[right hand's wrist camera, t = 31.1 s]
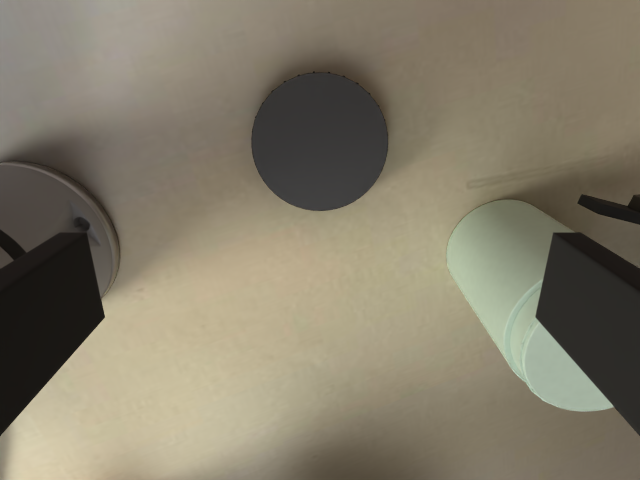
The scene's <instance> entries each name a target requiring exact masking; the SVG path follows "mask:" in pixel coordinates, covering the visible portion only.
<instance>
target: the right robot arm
mask: <svg viewBox="0 0 640 480" xmlns="http://www.w3.org/2000/svg"><path fill="white" fill-rule="evenodd" d="M118 267H119V245H118V240H117V236H116V233H115V230H114V227H113V225H112V223H111V221H110V219H109V217H108V215H107V214H106V212H105V211H104V209H103V208H102V206H101V205H100V204H99V203H98V201H97V200H96V199H95V198H94V197H93V196H92V195H91V194H90V193H89V192H88V191H87V190H86V189H85V188H84V187H82V186H81V185H80V184H78V183H77V182H76V181H74V180H73V179H71V178H69V177H68V176H66V175H64V174H62V173H60V172H58V171H56V170H54V169H51V168H49V167H46V166H42V165H39V164H34V163H29V162H17V161H11V162H2V163H0V436H1V434H2V433H3V432H4V431H5V430H6V429H7V428H8V427H9V425H10V424H11V423H12V422H13V421H14V420H15V419H16V417H17V416H18V415H19V414H20V413H21V412H22V411H23V410H24V408H25V407H26V406H27V405H28V404H29V403H30V402H31V400H32V399H33V398H34V397H35V396H36V395H37V394H38V393H39V391H40V390H41V389H42V388H43V387H44V386H45V385H46V383H47V382H48V381H49V380H50V379H51V378H52V377H53V375H54V374H55V373H56V372H57V371H58V370H59V369H60V368H61V366H62V365H63V364H64V363H65V362H66V361H67V360H68V358H69V357H70V356H71V355H72V354H73V353H74V352H75V351H76V349H77V348H78V347H79V346H80V345H81V344H82V343H83V341H84V340H85V339H86V338H87V337H88V336H89V335H90V334H91V332H92V331H93V330H94V329H95V328H96V327H97V326H98V324H99V323H100V322H101V321H102V320H103V319H104V318H105V315H104V311H103V306H102V301H101V298H102V297H103V296H104V295H105V294H106V293H107V291H108V290H109V289H110V287H111V286H112V284H113V282H114V280H115V278H116V275H117V271H118ZM535 318H536V319H537V320H538V321H539V322H540V323H541V324H542V326H543V327H544V328H545V329H546V330H547V331H548V332H549V334H550V335H551V336H552V337H553V338H554V339H555V340H556V341H557V343H558V344H559V345H560V346H561V347H562V348H563V349H564V351H565V352H566V353H567V354H568V355H569V356H570V357H571V358H572V360H573V361H574V362H575V363H576V364H577V365H578V366H579V368H580V369H581V370H582V371H583V372H584V373H585V374H586V375H587V377H588V378H589V379H590V380H591V381H592V382H593V383H594V385H595V386H596V387H597V388H598V389H599V390H600V391H601V393H602V394H603V395H604V396H605V397H606V398H607V399H608V400H609V402H610V403H611V404H612V405H613V406H614V407H615V408H616V410H617V411H618V412H619V413H620V414H621V415H622V416H623V417H624V419H625V420H626V421H627V422H628V423H629V424H630V425H631V427H632V428H633V429H634V430H635V431H636V432H637V433H638V434H639V436H640V269H639V268H638V267H636V266H634V265H633V264H631V263H629V262H628V261H626V260H624V259H623V258H621V257H620V256H618V255H616V254H615V253H613V252H611V251H610V250H608V249H607V248H605V247H603V246H602V245H600V244H598V243H597V242H595V241H593V240H592V239H590V238H589V237H587V236H585V235H584V234H582V233H580V232H553V235H552V240H551V245H550V249H549V254H548V259H547V264H546V268H545V273H544V278H543V282H542V287H541V292H540V297H539V301H538V306H537V311H536V315H535Z"/></svg>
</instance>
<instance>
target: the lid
mask: <svg viewBox="0 0 640 480" xmlns="http://www.w3.org/2000/svg"><path fill="white" fill-rule="evenodd" d="M255 118H256V119H255V122H254V126H253V130H252V152H253V158H254V161H255V165H256V167H257V170H258V172H259V174H260V176H261V177H262V179H263V181H264V182H265V183H266V185H267V186H268V187H269V188H270V189H271V190H272V191H273V192H274V193H275V194H276V195H277V196H278V197H280V198H281V199H282V200H284V201H286V202H287V203H289V204H291V205H294V206H296V207H299V208H302V209H307V210H313V211H325V210H333V209H337V208H340V207H343V206H346V205H348V204H350V203H352V202H354V201H356V200H357V199H359V198H360V197H361V196H363V195H364V194H365V193H366V192H367V191H368V190H369V189H370V188H371V187H372V186H373V184H374V183H375V181H376V180H377V179H378V177H379V175H380V173H381V171H382V169H383V166H384V163H385V160H386V156H387V151H388V133H387V127H386V123H385V119H384V117H383V115H382V112H381V110H380V108H379V105H377V103H376V102H375V100H374V99H373V98H372V97H371V96H370V93H368V92H367V91H365V90H364V89H363V88H362V87H361V86H359V85H358V83H355V82H353V81H351V80H349V79H347V78H345V76H339V75H336V74H331V73H330V72H328V73H315V72H313V73H308V74H304V75H298V76H297V77H295V78H292V79H290V80H288V81H284V83H283V84H281V85H280V86H279V87H278V88H276V89H275V90H273V91H272V93H271V94H270V95H269V96H268V97H267V99H266V100H265V101H264V102H263V103H262V106H261V108H260V109H259V111H258V114H257V116H256V117H255Z"/></svg>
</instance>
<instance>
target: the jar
mask: <svg viewBox="0 0 640 480" xmlns="http://www.w3.org/2000/svg"><path fill="white" fill-rule="evenodd" d="M553 232H574V231H573V230H571V229H570V228H568V227H566V226H565V225H563V224H562V223H560V222H558V221H557V220H555V219H554V218H552V217H550V216H549V215H547V214H546V213H544V212H542V211H541V210H539V209H537V208H536V207H534V206H533V205H531V204H528V203H526V202H523V201H519V200H497V201H493V202H489V203H487V204H484V205H482V206H480V207H478V208H476V209H474V210H473V211H471V212H470V213H469V214H467V215H466V216H465V217H464V218H463V219H462V220H461V221H460V222H459V223H458V225H457V226H456V228H455V229H454V231H453V233H452V234H451V237H450V239H449V242H448V246H447V253H446V259H447V266H448V269H449V272H450V274H451V276H452V278H453V279H454V281H455V282H456V284H457V285H458V287H459V288H460V290H461V292H462V293H463V295H464V296H465V298H466V299H467V301H468V302H469V304H470V305H471V307H472V308H473V310H474V312H475V313H476V315H477V316H478V318H479V319H480V321H481V322H482V324H483V325H484V327H485V329H486V330H487V332H488V333H489V335H490V336H491V338H492V339H493V341H494V342H495V344H496V346H497V347H498V349H499V350H500V352H501V353H502V355H503V356H504V358H505V359H506V361H507V362H508V364H509V366H510V367H511V368H512V370H513V371H514V372H515V374H516V375H517V376H518V377H520V378H521V379H522V380H523V381H525V382H526V384H527V385H528V387H529V388H530V390H531V391H532V392H533V393H534V394H536V395H537V396H538V397H539V398H541V399H542V400H543V401H544V402H547V403H549V404H552V405H554V406H556V407H559V408H562V409H566V410H571V411H599V410H604V409H609V408H612V407H614V406H613V405H612V404H611V403H610V402H609V400H608V399H607V398H606V397H605V396H604V395H603V394H602V393H601V391H600V390H599V389H598V388H597V387H596V386H595V385H594V383H593V382H592V381H591V380H590V379H589V378H588V377H587V375H586V374H585V373H584V372H583V371H582V370H581V369H580V368H579V366H578V365H577V364H576V363H575V362H574V361H573V360H572V358H571V357H570V356H569V355H568V354H567V353H566V352H565V351H564V349H563V348H562V347H561V346H560V345H559V344H558V343H557V341H556V340H555V339H554V338H553V337H552V336H551V335H550V334H549V332H548V331H547V330H546V329H545V328H544V327H543V326H542V324H541V323H540V322H539V321H538V320H537V319H536V318H535V315H536V311H537V306H538V301H539V297H540V292H541V287H542V282H543V278H544V273H545V268H546V264H547V259H548V254H549V249H550V245H551V240H552V235H553Z"/></svg>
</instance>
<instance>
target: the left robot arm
mask: <svg viewBox="0 0 640 480" xmlns="http://www.w3.org/2000/svg"><path fill="white" fill-rule="evenodd" d="M578 204H580V205H582V206H584V207H586V208H588V209H590V210H592V211H593V212H595V213H597V214H600V215H604V216H608V217H612V218H616V219H620V220H624V221H628V222H632V223H636V224H639V225H640V194H639V195H633V197H632V199H631V201H630V203H629V205H628V206H625V205H621V204H618V203H614V202H610V201H606V200H602V199H598V198H594V197H591V196H587V195H583V194H582V195H581V197H580V199H579V201H578Z"/></svg>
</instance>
